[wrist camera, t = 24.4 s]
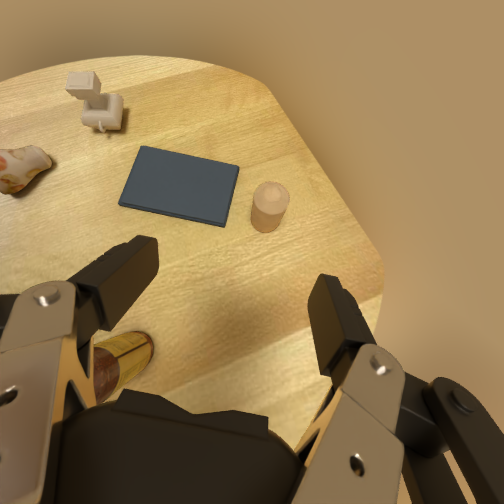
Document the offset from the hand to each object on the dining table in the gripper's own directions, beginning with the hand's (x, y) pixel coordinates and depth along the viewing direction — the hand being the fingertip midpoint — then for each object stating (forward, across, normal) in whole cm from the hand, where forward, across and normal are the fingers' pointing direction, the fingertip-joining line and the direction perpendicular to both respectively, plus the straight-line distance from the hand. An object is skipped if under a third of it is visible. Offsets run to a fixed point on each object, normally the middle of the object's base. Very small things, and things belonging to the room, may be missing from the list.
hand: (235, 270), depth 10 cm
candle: (+29, -2, +8) cm, 30 cm away
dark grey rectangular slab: (+31, +15, +6) cm, 35 cm away
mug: (+28, +43, +9) cm, 52 cm away
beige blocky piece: (+39, +33, -1) cm, 51 cm away
